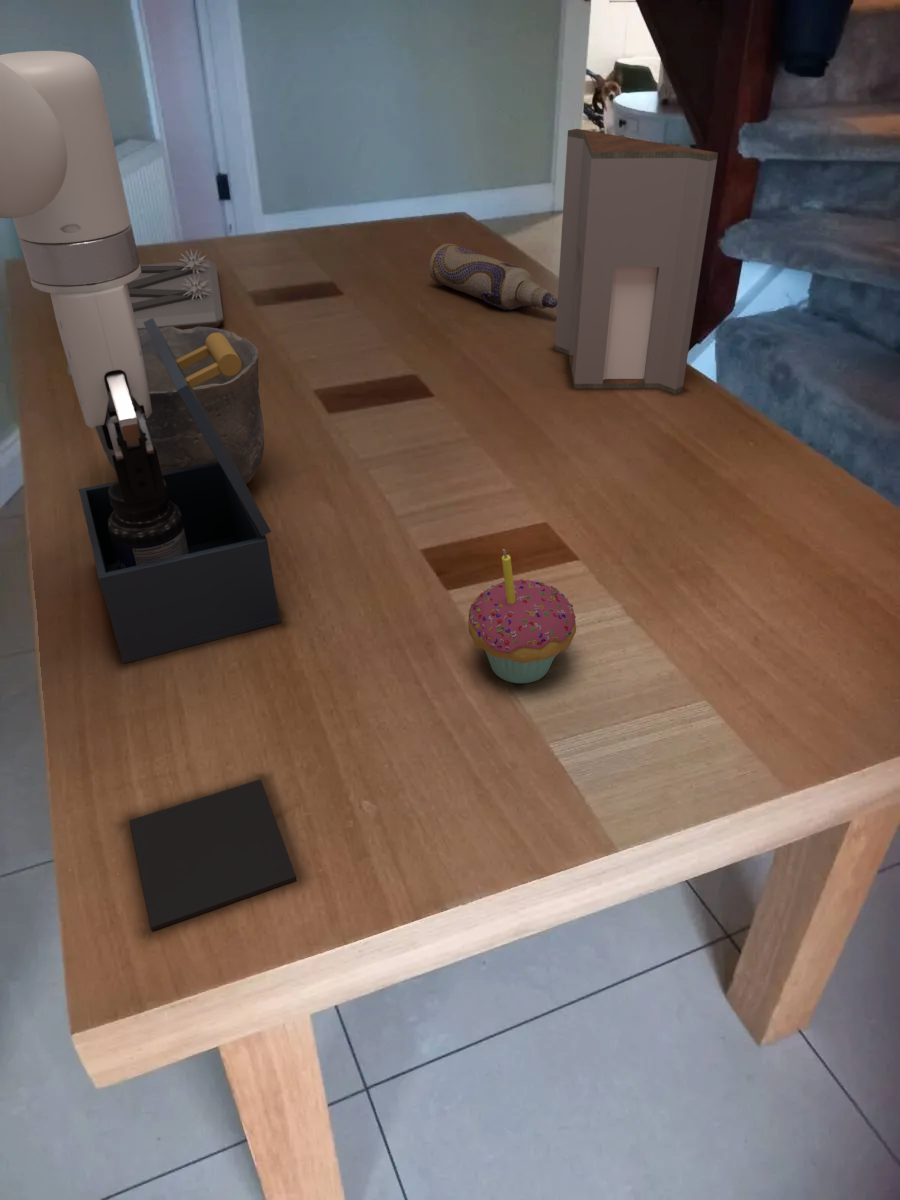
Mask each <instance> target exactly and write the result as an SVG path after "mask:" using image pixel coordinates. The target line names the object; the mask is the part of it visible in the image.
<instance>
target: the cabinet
mask: <svg viewBox="0 0 900 1200" xmlns="http://www.w3.org/2000/svg"><path fill="white" fill-rule="evenodd" d="M718 156H719V152H716V151H710V150H704V149H699V148H693V147H686V146H681V145H675V144H668V143H663V142H657V141H652V140H646V139H640V138H633V137H628V136H622V135H616V134H610V133H605V132H599V131H594V130H593V131H592V130H586V129H580V128H572V129H568V130H567V139H566V156H565V172H564V173H565V174H564V188H563V203H562V204H563V205H562V222H561V238H560V240H561V241H560V254H559V256H560V257H559V272H558V285H557V306H556V319H555V320H556V321H555V335H554V336H555V338H554V351H556V352H559V353H562V354H565V355H567V356H568V359H569V366H570V371H571V377H572V378H571V379H572V383H573V389H575V390H576V389H579V390H588V389H591V390H592V389H597V390H598V389H659V390H662V391H664V392H668V393H670V394H672V395H676V394H679V393H681V392H683V389H684V385H685V384H684V383H685V382H684V381H685V375H686V370H687V363H688V356H689V350H690V343H691V338H692V329H693V324H694V318H695V317H694V316H695V309H696V303H697V297H698V296H697V295H698V289H699V283H700V276H701V270H702V264H703V257H704V251H705V243H706V238H707V237H706V236H707V230H708V224H709V217H710V210H711V205H712V197H713V190H714V183H715V177H716V171H717V164H718V163H717V162H718Z"/></svg>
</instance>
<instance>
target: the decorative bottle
mask: <svg viewBox="0 0 900 1200" xmlns="http://www.w3.org/2000/svg"><path fill="white" fill-rule="evenodd" d="M428 270H429V271H428V272H429V276H430V278H431V279H432V280H433V282H435V283H436V284H438V285H441V286H444V287H448V288H450V289H453V290H455V291H458V292H462V293H464V294H466V295H470V296H471V297H474V298H476V299H480V300H483V302H485V303H486V304H489V305H490V306H493V307H496V308H498V309H501V310H503V311H512V310H518V309H520V308H528V307H533V308H538V309H542V310H543V309H547V308H549V309H554V308H557V302H558V299H557V298H556V297H555V295H554V294H552V292H551V291H550V290H548V289H547V288H543V287H541V286H540V285H539V284H537V283H536V282H535V281H533V279H532V275H531V273H530V272H529V271H527V269H524V268H523V267H519V266H517V265H515V264H511V263H508V262H505V261H502V260H500V259H497V258H494V257H490V256H488V255H484V254H481V253H480V252H479V253H478V252H476V251H473V250H470V249H467V248H464V247H462V246H458V245H456V244H454V243H444V244H442V245H440V246H438V247H437V248H436V249H435V250H434V251H433V252H432V253H431V256H430V258H429V263H428Z"/></svg>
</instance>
